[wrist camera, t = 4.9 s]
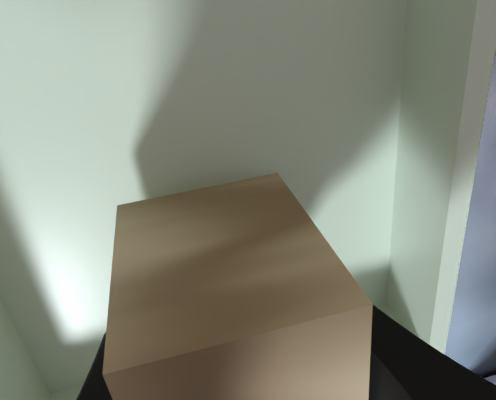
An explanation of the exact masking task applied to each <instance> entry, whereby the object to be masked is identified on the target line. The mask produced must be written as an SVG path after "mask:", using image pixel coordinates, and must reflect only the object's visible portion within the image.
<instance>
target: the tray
mask: <svg viewBox="0 0 496 400" xmlns="http://www.w3.org/2000/svg"><path fill="white" fill-rule="evenodd" d="M495 49H496V0H0V400H76V399H77V397H78V395H79V393H80V391H81V388H82V386H83V384H84V382H85V380H86V377H87V375H88V373H89V370H90V368H91V366H92V363H93V361H94V359H95V356H96V354H97V351H98V349H99V346H100V344H101V341H102V339H103V336H104V334H105V333H106V328H107V316H108V305H109V293H110V282H111V270H112V258H113V247H114V235H115V224H116V212H117V205H121V204H126V203H131V202H136V201H141V200H146V199H151V198H156V197H161V196H165V195H170V194H175V193H180V192H185V191H190V190H195V189H200V188H205V187H210V186H215V185H220V184H224V183H229V182H234V181H239V180H244V179H249V178H254V177H259V176H264V175H269V174H274V173H278V174H279V175H280V177H281V178H282V179H283V181H284V182H285V184H286V185H287V186H288V188H289V189H290V191H291V192H292V193H293V195H294V196H295V197H296V199H297V200H298V202H299V203H300V204H301V206H302V207H303V209H304V210H305V211H306V213H307V214H308V215H309V217H310V218H311V220H312V221H313V222H314V224H315V225H316V227H317V228H318V229H319V231H320V232H321V233H322V235H323V236H324V238H325V239H326V240H327V242H328V243H329V245H330V246H331V247H332V249H333V250H334V252H335V253H336V254H337V256H338V257H339V258H340V260H341V261H342V263H343V264H344V265H345V267H346V268H347V270H348V271H349V272H350V274H351V275H352V276H353V278H354V279H355V281H356V282H357V283H358V285H359V286H360V288H361V289H362V290H363V292H364V293H365V295H366V296H367V297H368V299H369V300H370V301H371V303H372V304H373V305H375V306H376V307H377V308H378V309H380V310H381V311H382V312H384V313H385V314H386V315H388V316H389V317H390V318H392V319H393V320H395V321H396V322H397V323H399V324H400V325H402V326H403V327H404V328H406V329H407V330H409V331H410V332H411V333H413V334H414V335H416V336H417V337H419V338H420V339H422V340H423V341H425V342H426V343H427V344H429V345H430V346H432V347H434V348H435V349H437V350H438V351H440V352H441V353H443V354H444V355H445V349H446V343H447V337H448V331H449V325H450V319H451V313H452V307H453V301H454V295H455V289H456V283H457V277H458V271H459V265H460V259H461V253H462V247H463V241H464V235H465V229H466V223H467V217H468V211H469V205H470V199H471V193H472V187H473V181H474V175H475V169H476V163H477V157H478V151H479V145H480V139H481V133H482V127H483V121H484V115H485V109H486V103H487V97H488V91H489V85H490V79H491V73H492V67H493V61H494V55H495Z"/></svg>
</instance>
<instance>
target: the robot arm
mask: <svg viewBox="0 0 496 400" xmlns="http://www.w3.org/2000/svg"><path fill="white" fill-rule="evenodd" d="M105 339H106V333H105V334H104V336H103V339H102V341H101V344H100V346H99V349H98V351H97V354H96V356H95V359H94V361H93V363H92V366H91V368H90V370H89V373H88V375H87V377H86V380H85V382H84V384H83V386H82V388H81V391H80V393H79V395H78V397H77V399H76V400H113V399H112V397H111V394H110V392H109V389H108V387H107V385H106V382H105V380H104V377H103V375H102V374H103V362H104V351H105ZM369 400H496V375H493V376H490V377H486V378H482V377H481V376H479V375H477V374H475V373H473V372H472V371H470V370H468V369H467V368H465V367H463V366H462V365H460V364H459V363H457V362H455V361H454V360H452V359H451V358H449V357H447V356H446V355H444V354H443V353H441V352H440V351H438V350H437V349H435V348H434V347H432V346H430V345H429V344H427V343H426V342H425V341H423V340H422V339H420V338H419V337H417V336H416V335H414V334H413V333H411V332H410V331H409V330H407V329H406V328H404V327H403V326H402V325H400V324H399V323H397V322H396V321H395V320H393V319H392V318H390V317H389V316H388V315H386V314H385V313H384V312H382V311H381V310H380V309H378V308H377V307H376V306H375V305H373V309H372V332H371V354H370V377H369Z"/></svg>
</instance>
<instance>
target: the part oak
mask: <svg viewBox="0 0 496 400" xmlns="http://www.w3.org/2000/svg"><path fill="white" fill-rule="evenodd" d="M372 309H373V304H372V303H371V301H370V300H369V299H368V297H367V296H366V295H365V293H364V292H363V290H362V289H361V288H360V286H359V285H358V283H357V282H356V281H355V279H354V278H353V276H352V275H351V274H350V272H349V271H348V270H347V268H346V267H345V265H344V264H343V263H342V261H341V260H340V258H339V257H338V256H337V254H336V253H335V252H334V250H333V249H332V247H331V246H330V245H329V243H328V242H327V240H326V239H325V238H324V236H323V235H322V233H321V232H320V231H319V229H318V228H317V227H316V225H315V224H314V222H313V221H312V220H311V218H310V217H309V215H308V214H307V213H306V211H305V210H304V209H303V207H302V206H301V204H300V203H299V202H298V200H297V199H296V197H295V196H294V195H293V193H292V192H291V191H290V189H289V188H288V186H287V185H286V184H285V182H284V181H283V179H282V178H281V177H280V175H279V174H278V173H274V174H269V175H264V176H259V177H254V178H249V179H244V180H239V181H234V182H229V183H224V184H220V185H215V186H210V187H205V188H200V189H195V190H190V191H185V192H180V193H175V194H170V195H165V196H161V197H156V198H151V199H146V200H141V201H136V202H131V203H126V204H121V205H117V212H116V224H115V235H114V247H113V258H112V270H111V282H110V293H109V305H108V316H107V328H106V339H105V351H104V362H103V374H102V375H103V377H104V380H105V382H106V385H107V387H108V389H109V392H110V394H111V397H112V399H113V400H369V377H370V354H371V332H372Z"/></svg>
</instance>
